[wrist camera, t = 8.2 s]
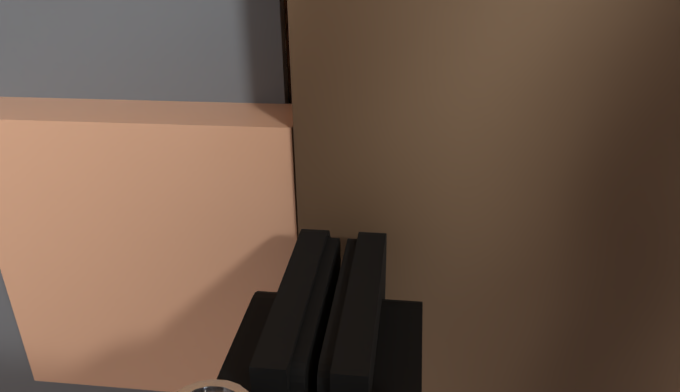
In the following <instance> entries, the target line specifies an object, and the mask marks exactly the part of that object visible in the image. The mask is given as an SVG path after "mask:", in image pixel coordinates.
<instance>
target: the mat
mask: <svg viewBox="0 0 680 392" xmlns="http://www.w3.org/2000/svg"><path fill="white" fill-rule="evenodd" d="M0 97H33V98H72V99H112V100H151V101H190V102H229V103H268V104H289V92H288V72H287V52H286V33H285V13H284V0H0ZM0 392H166V391H154V390H142V389H130V388H118V387H105V386H93V385H81V384H69V383H57V382H45V381H35V380H34V377H33V374H32V370H31V367H30V364H29V361H28V357H27V354H26V351H25V348H24V344H23V341H22V338H21V335H20V331H19V328H18V325H17V322H16V319H15V315H14V312H13V309H12V306H11V302H10V299H9V296H8V293H7V289H6V286H5V283H4V280H3V276H2V273H1V270H0Z"/></svg>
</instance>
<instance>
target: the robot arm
mask: <svg viewBox="0 0 680 392" xmlns="http://www.w3.org/2000/svg"><path fill="white" fill-rule="evenodd" d="M386 247H387V234H386V233H373V232H359V233H358V237H357V239H349V238H348V239H347V243H346V247H345V251H344V255H343V260H342V264H341V257H340V238H331V236H330V231H329V230H316V229H301V231H300V233H299V236H298V238H297V241H296V244H295V246H294V249H293V252H292V254H291V257H290V260H289V262H288V265H287V268H286V270H285V273H284V275H283V278H282V281H281V283H280V286H279V289H278V291H277V292H267V291H257V292H255V293H254V295H253V297H252V299H251V301H250V303H249V306H248V308H247V310H246V313H245V315H244V317H243V319H242V322H241V324H240V326H239V329H238V331H237V333H236V335H235V338H234V340H233V342H232V345H231V347H230V349H229V351H228V354H227V356H226V358H225V361H224V363H223V365H222V367H221V370H220V372H219V374H218V377H217V379H211V380H204V381H198V382H196V383H193V384H190V385H187V386H185V387H183V388H182V389H180V390H179V391H177V392H422V314H423V303H422V302H421V301H406V300H390V299H385V288H386Z"/></svg>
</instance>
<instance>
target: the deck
mask: <svg viewBox="0 0 680 392" xmlns="http://www.w3.org/2000/svg"><path fill="white" fill-rule="evenodd" d="M287 10H288V30H289V51H290V71H291V92H292V113H293V133H294V154H295V175H296V195H297V216H298V236H299V233H300V231H301V229H316V230H329V231H330V236H331V238H340V257H341V264H342V260H343V255H344V251H345V247H346V243H347V239H348V238H349V239H357V237H358V233H359V232H373V233H386V234H387V247H386V288H385V299H390V300H406V301H421V302H422V303H423V314H422V392H680V0H287Z"/></svg>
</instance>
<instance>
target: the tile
mask: <svg viewBox="0 0 680 392" xmlns="http://www.w3.org/2000/svg"><path fill="white" fill-rule="evenodd" d="M297 238H298V216H297V195H296V175H295V154H294V133H293V113H292V104H268V103H229V102H190V101H151V100H112V99H72V98H33V97H0V270H1V273H2V276H3V280H4V283H5V286H6V289H7V293H8V296H9V299H10V302H11V306H12V309H13V312H14V315H15V319H16V322H17V325H18V328H19V331H20V335H21V338H22V341H23V344H24V348H25V351H26V354H27V357H28V361H29V364H30V367H31V370H32V374H33V377H34V380H35V381H45V382H57V383H69V384H81V385H93V386H105V387H118V388H130V389H142V390H154V391H166V392H177V391H179V390H180V389H182V388H183V387H185V386H187V385H190V384H193V383H196V382H198V381H204V380H211V379H217V377H218V374H219V372H220V370H221V367H222V365H223V363H224V361H225V358H226V356H227V354H228V351H229V349H230V347H231V345H232V342H233V340H234V338H235V335H236V333H237V331H238V329H239V326H240V324H241V322H242V319H243V317H244V315H245V313H246V310H247V308H248V306H249V303H250V301H251V299H252V297H253V295H254V293H255V292H257V291H267V292H277V291H278V289H279V286H280V283H281V281H282V278H283V275H284V273H285V270H286V268H287V265H288V262H289V260H290V257H291V254H292V252H293V249H294V246H295V244H296V241H297Z"/></svg>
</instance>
